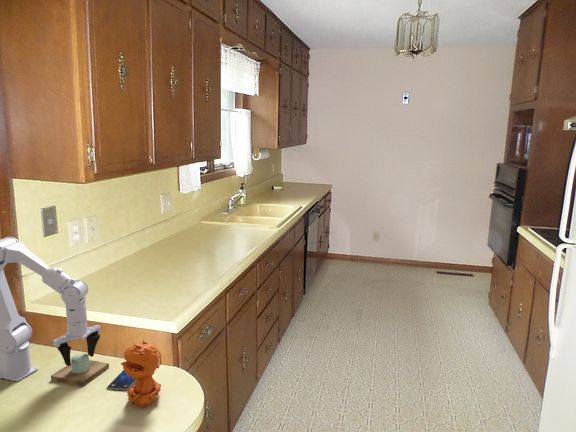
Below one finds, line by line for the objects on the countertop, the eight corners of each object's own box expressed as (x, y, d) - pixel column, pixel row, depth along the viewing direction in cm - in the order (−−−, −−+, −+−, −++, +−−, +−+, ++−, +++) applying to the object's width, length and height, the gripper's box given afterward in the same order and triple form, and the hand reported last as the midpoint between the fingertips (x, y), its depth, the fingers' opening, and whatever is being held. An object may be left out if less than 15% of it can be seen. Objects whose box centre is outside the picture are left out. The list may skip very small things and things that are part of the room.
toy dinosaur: (122, 394, 131) (118, 337, 128) (160, 386, 135) (157, 331, 132) (124, 415, 121) (120, 353, 118) (165, 406, 125) (162, 346, 122)
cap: (90, 370, 141) (89, 358, 141) (73, 374, 139) (72, 362, 138) (88, 364, 146) (87, 352, 145) (71, 368, 143) (70, 355, 142)
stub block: (51, 380, 138) (50, 367, 138) (79, 362, 150) (78, 349, 149) (82, 386, 135) (81, 372, 134) (109, 367, 146) (108, 354, 146)
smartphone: (104, 388, 133) (128, 363, 148) (105, 391, 133) (128, 366, 148) (127, 389, 132) (149, 364, 147) (128, 392, 133) (149, 367, 147)
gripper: (60, 330, 131) (63, 373, 134) (105, 315, 143) (107, 355, 145) (48, 324, 135) (51, 365, 138) (93, 310, 147) (95, 349, 149)
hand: (79, 360), depth 142 cm, fingers open, 7 cm apart
